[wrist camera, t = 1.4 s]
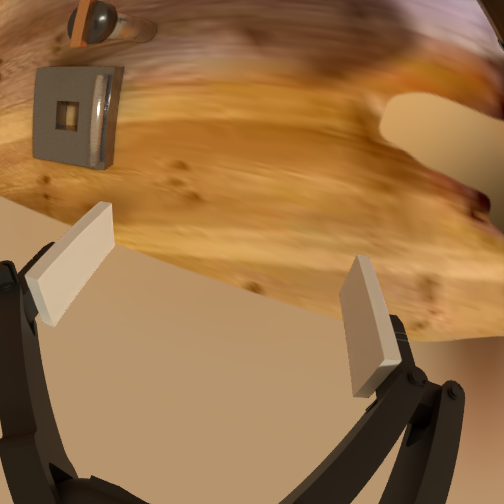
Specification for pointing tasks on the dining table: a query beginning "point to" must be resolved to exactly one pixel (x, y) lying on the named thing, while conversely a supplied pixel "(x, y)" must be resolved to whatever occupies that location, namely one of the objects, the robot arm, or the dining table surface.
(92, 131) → the grey flat square block
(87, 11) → the key
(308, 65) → the dining table surface
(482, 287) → the dining table surface
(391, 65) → the dining table surface
